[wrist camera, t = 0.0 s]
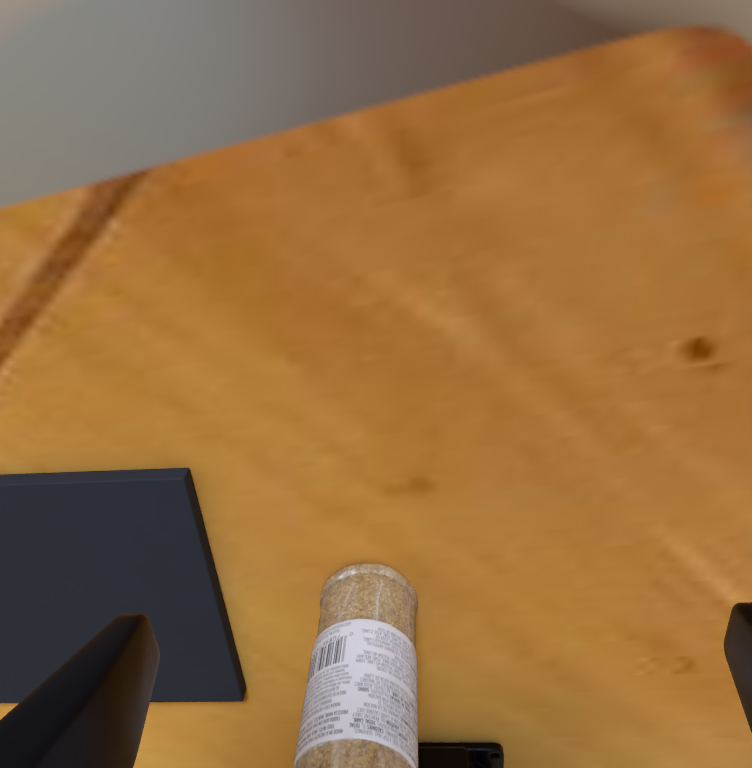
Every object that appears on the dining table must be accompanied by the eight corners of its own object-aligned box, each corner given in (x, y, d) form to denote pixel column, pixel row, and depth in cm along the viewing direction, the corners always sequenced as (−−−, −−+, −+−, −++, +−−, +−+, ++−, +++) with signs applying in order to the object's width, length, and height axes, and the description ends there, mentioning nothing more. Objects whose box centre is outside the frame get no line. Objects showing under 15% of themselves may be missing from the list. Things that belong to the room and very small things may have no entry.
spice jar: (356, 640, 31) (322, 1005, 19) (301, 581, 29) (227, 940, 18) (437, 607, 30) (454, 977, 18) (384, 542, 28) (365, 903, 16)
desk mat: (246, 688, 33) (243, 702, 32) (-112, 691, 35) (-123, 704, 34) (189, 466, 27) (183, 478, 26) (-247, 483, 28) (-264, 494, 28)
